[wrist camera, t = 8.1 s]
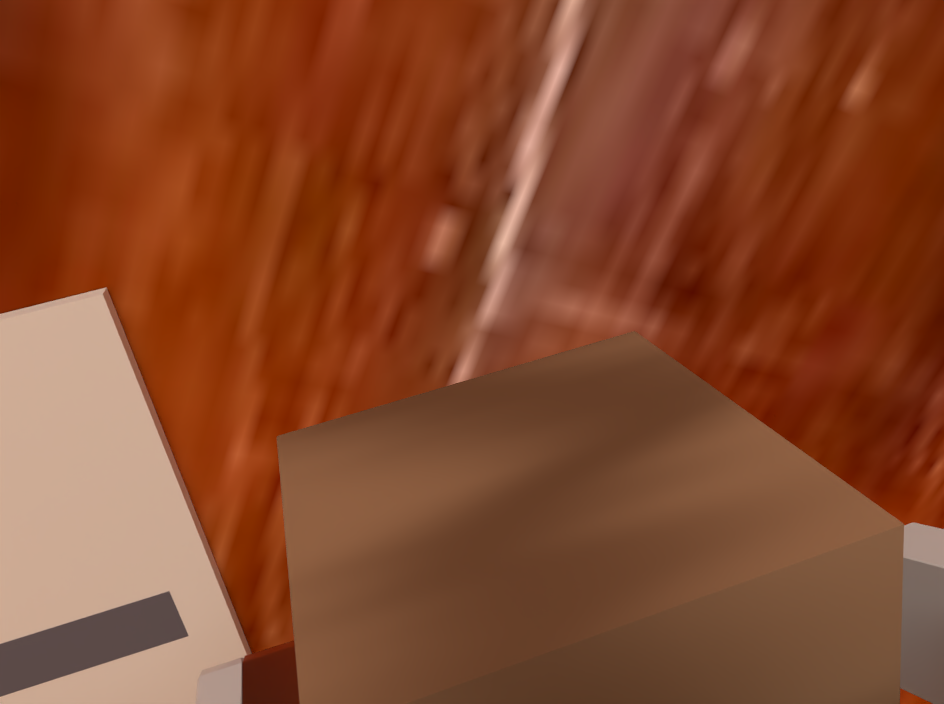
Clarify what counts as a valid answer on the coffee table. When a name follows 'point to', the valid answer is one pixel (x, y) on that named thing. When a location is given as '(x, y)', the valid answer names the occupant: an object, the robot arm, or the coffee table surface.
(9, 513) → the letter card
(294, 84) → the coffee table surface
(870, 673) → the walnut block
